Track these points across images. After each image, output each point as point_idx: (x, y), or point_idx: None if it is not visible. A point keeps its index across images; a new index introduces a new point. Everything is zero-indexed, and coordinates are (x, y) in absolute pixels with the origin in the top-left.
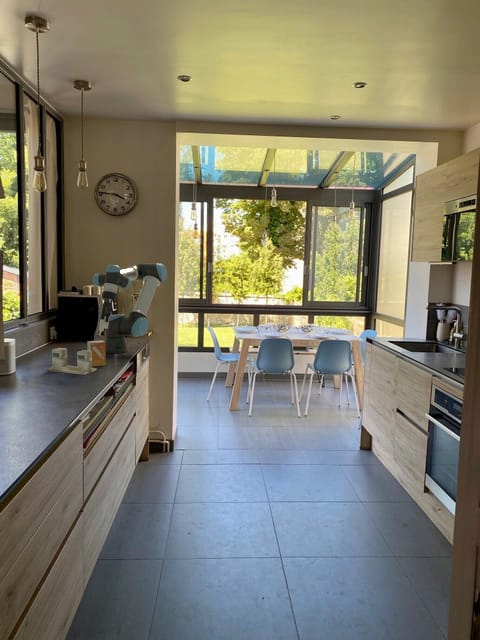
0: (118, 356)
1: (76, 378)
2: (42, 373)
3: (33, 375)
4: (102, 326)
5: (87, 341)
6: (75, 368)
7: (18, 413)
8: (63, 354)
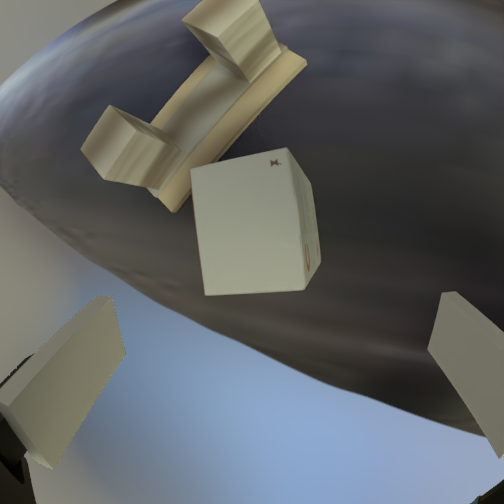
0: None
1: None
2: None
3: None
4: (462, 363)
5: (283, 148)
6: (180, 120)
7: (4, 91)
8: (208, 41)
